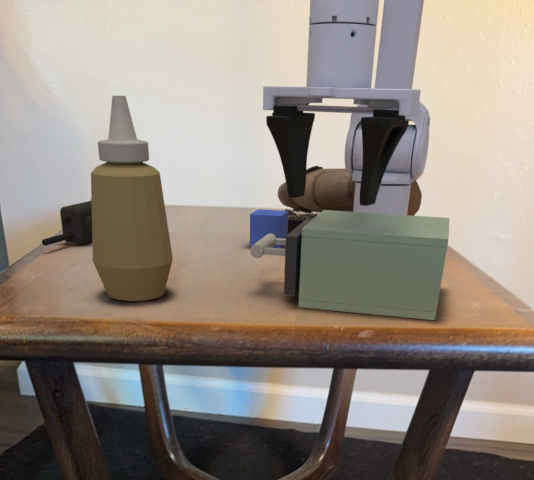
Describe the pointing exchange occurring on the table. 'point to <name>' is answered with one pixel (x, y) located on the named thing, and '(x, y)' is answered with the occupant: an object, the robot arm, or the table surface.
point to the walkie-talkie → (74, 224)
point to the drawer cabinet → (373, 263)
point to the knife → (290, 212)
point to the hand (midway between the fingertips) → (330, 200)
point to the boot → (334, 192)
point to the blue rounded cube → (268, 225)
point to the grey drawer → (290, 253)
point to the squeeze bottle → (128, 214)
